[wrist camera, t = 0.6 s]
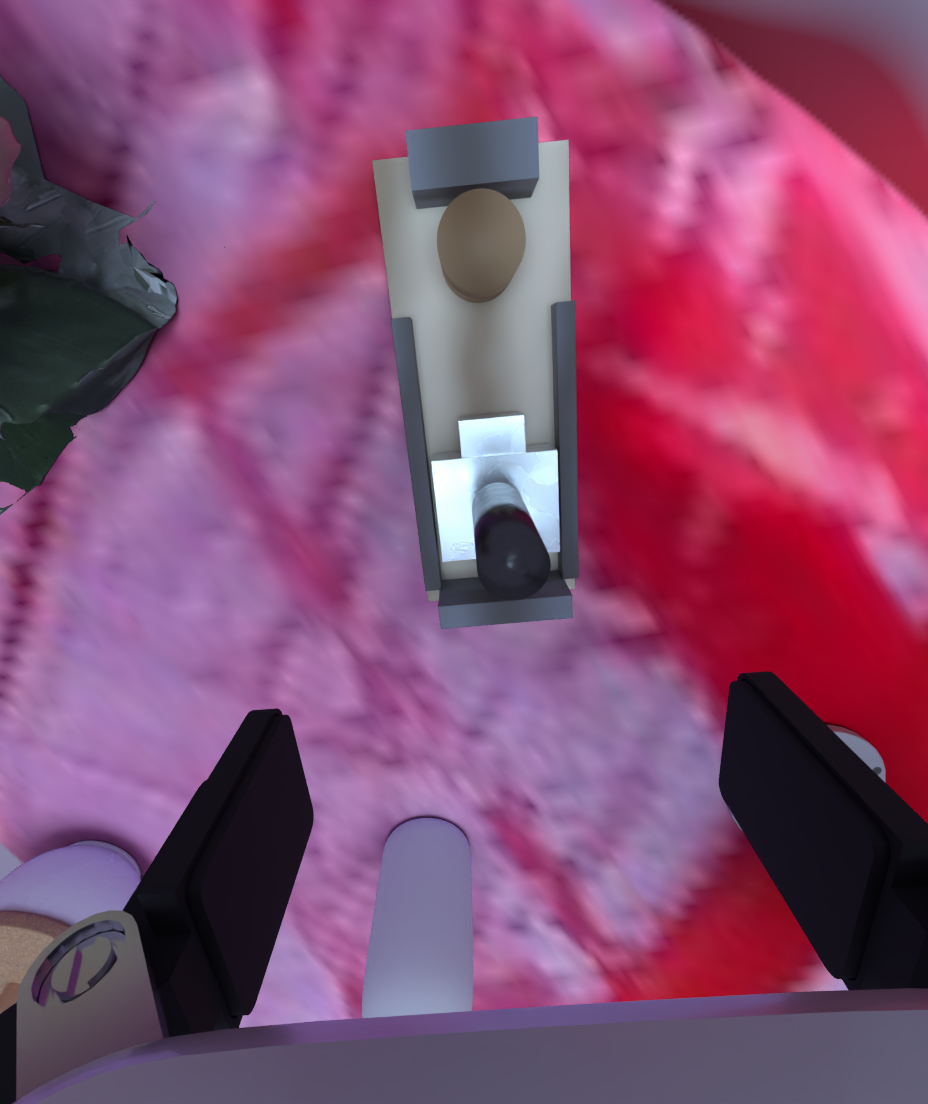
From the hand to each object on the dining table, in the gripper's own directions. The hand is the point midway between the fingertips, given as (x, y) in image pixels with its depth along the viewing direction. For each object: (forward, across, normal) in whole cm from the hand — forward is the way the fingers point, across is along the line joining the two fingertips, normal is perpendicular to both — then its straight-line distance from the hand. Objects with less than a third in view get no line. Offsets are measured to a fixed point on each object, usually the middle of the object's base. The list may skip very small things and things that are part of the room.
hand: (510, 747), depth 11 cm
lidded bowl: (+25, +37, +32) cm, 55 cm away
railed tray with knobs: (+24, -1, -5) cm, 25 cm away
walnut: (+22, -1, -13) cm, 26 cm away
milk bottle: (+25, +7, +32) cm, 41 cm away
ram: (+22, -1, -1) cm, 22 cm away
